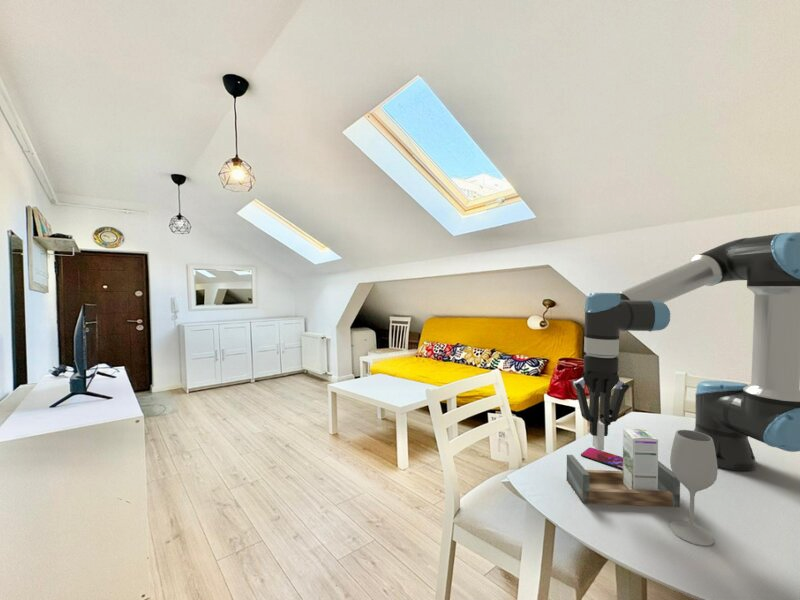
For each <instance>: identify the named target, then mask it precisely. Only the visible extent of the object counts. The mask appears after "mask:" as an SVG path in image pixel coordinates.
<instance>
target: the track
mask: <svg viewBox="0 0 800 600" xmlns="http://www.w3.org/2000/svg"><path fill="white" fill-rule="evenodd" d="M567 481H568V482H567ZM566 482H567V483H568V484H569V486H570V485H571V486H570V487H571V489H572V490H573V492H574V491H575V492H574V493H575V495H576V496H577V497H578V498H579V500H580V502H581V503H582V504H597V505H599V504H601V505H620V506H621V505H622V506H623V505H624V506H626V505H627V506H629V505H630V506H646V507H647V506H649V507H650V506H652V507H653V506H654V507H675V508H676V507H678V508H679V507H680V506H681V502H680V501H681V482H680V481H679V480H678V479H677V478H676V477H675V475H674V474H673V472H672V469H671V468H668V467H667V466H666V465H664V464H663V463H662V462H661V461H660V460H658V491H652V490H628V489H627V488H626V486H625V485H624V484H623V470H606V469H605V470H604V469H602V470H601V469H600V470H599V469H585V468H584V466H583V465H582V464H581V463H580V462H579V461H578V459H577V458H576V457H575V456H574V455H573V454H566Z"/></svg>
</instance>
